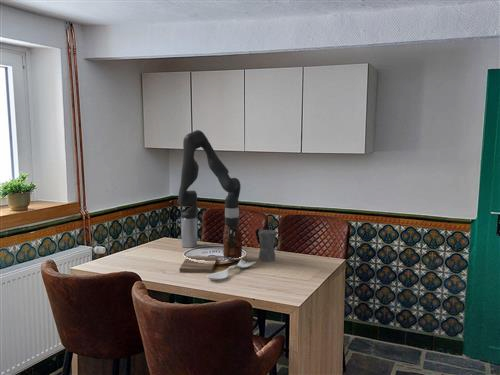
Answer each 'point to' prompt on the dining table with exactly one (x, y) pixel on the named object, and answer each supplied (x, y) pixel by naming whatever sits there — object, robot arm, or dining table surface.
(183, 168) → the robot arm
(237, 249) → the wooden figurine
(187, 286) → the dining table surface
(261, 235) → the coffeepot
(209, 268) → the walnut board
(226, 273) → the spoon
